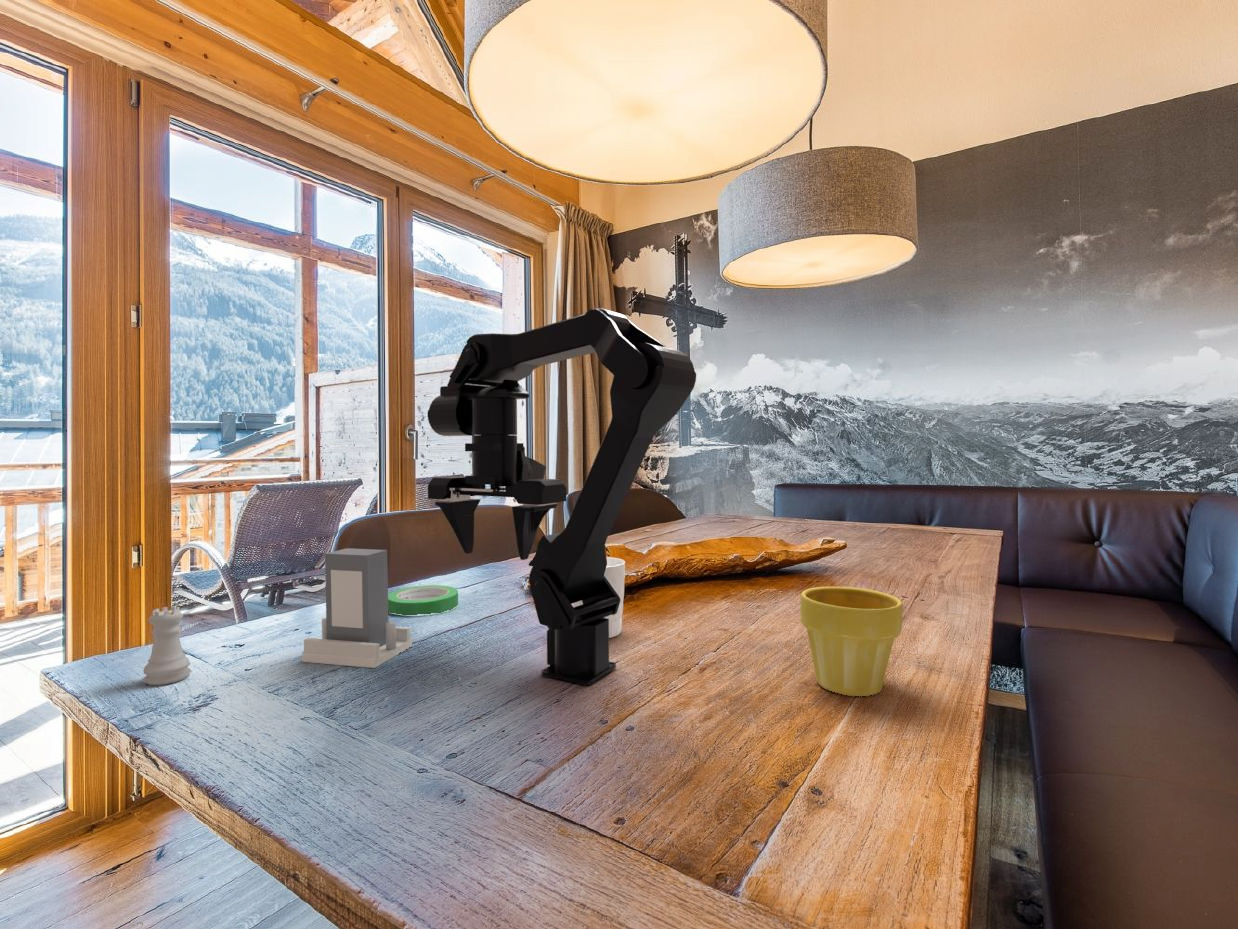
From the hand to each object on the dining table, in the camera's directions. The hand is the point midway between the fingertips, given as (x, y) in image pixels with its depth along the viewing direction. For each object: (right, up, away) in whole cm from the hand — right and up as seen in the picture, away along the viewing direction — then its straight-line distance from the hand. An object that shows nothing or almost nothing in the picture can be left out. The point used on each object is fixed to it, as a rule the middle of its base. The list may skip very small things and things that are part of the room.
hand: (495, 556), depth 79 cm
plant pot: (+41, -12, -12) cm, 45 cm away
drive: (-17, -11, -2) cm, 20 cm away
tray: (-17, -12, -2) cm, 21 cm away
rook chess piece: (-35, -13, -10) cm, 39 cm away
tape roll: (-16, -12, +21) cm, 29 cm away
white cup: (+13, -12, +7) cm, 19 cm away
